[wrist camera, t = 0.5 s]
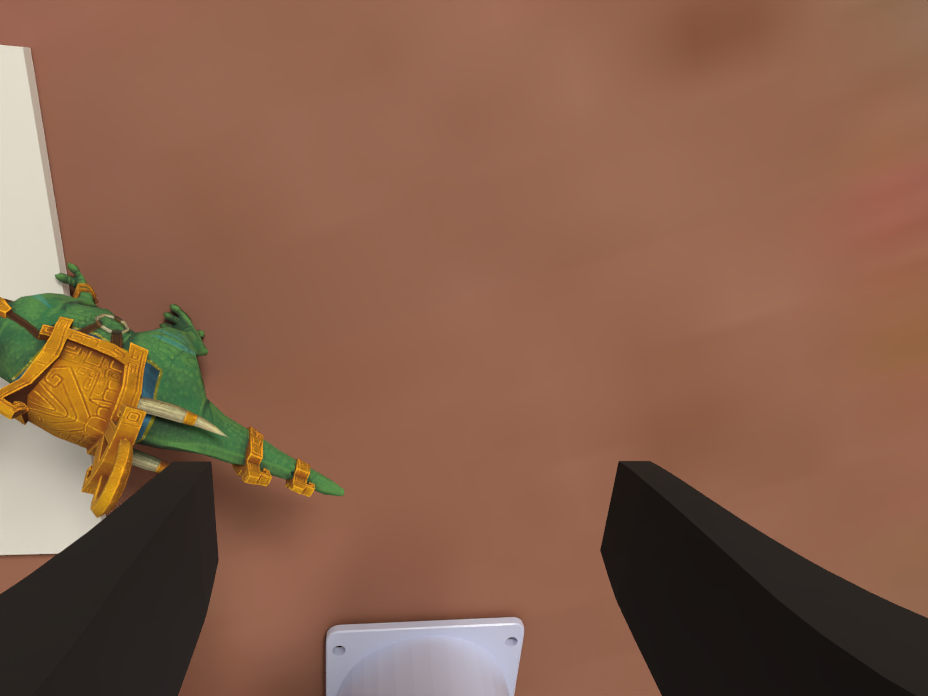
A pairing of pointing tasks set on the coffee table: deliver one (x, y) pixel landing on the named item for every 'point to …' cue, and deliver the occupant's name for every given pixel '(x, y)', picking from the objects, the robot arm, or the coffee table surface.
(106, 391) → the figurine
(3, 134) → the cream mat
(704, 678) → the robot arm
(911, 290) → the coffee table surface
